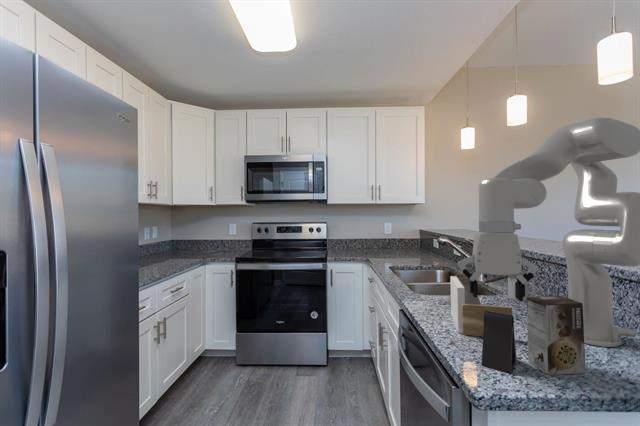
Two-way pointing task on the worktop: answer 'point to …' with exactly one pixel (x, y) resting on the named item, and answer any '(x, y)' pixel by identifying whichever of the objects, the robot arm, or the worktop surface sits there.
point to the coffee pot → (466, 284)
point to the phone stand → (499, 342)
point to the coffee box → (556, 335)
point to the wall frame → (457, 302)
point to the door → (479, 317)
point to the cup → (512, 289)
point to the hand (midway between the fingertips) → (496, 297)
